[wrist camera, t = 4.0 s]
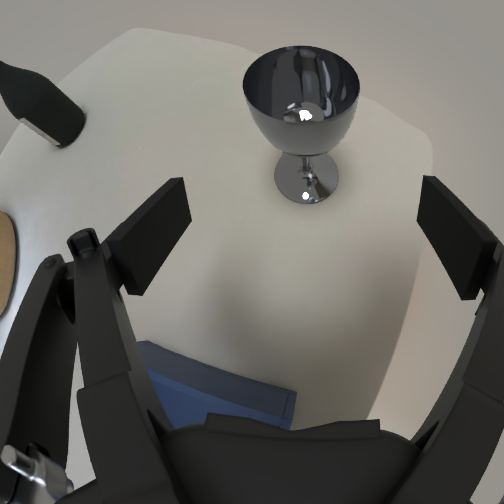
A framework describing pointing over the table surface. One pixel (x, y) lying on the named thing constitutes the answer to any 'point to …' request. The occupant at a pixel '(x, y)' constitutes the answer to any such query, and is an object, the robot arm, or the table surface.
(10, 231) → the planter
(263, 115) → the wine glass
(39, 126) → the wine bottle
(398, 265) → the table surface
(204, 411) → the bin
